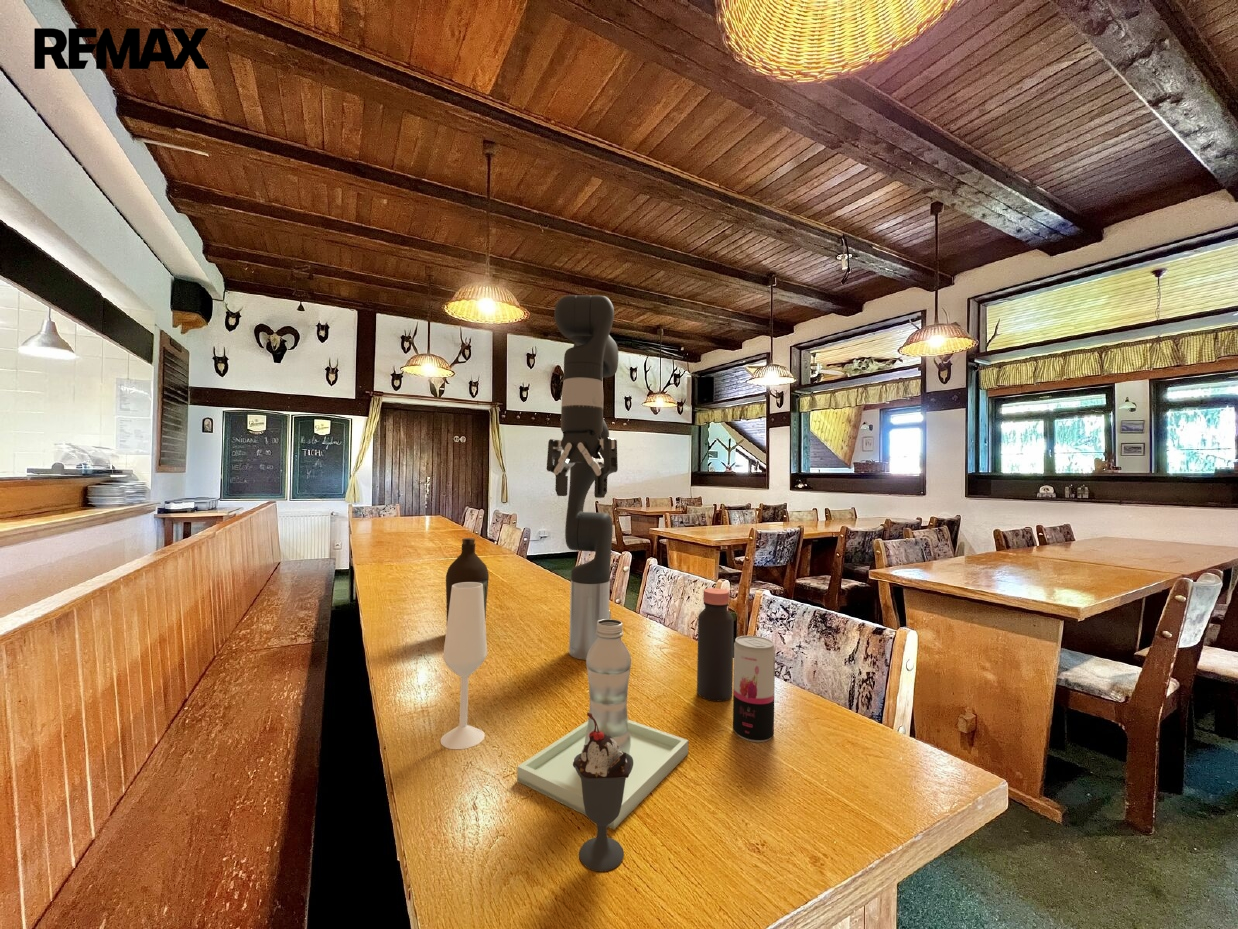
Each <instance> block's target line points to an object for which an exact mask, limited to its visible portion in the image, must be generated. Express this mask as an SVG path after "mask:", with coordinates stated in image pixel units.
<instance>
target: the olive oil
mask: <svg viewBox="0 0 1238 929" xmlns="http://www.w3.org/2000/svg"><path fill="white" fill-rule="evenodd" d="M461 540H462V541H461V542H462V543H461V553H460V554H459V556H457V557H456V559H455V560H454V561H453V562H452V563H451V564H450V565H449V567H448V569H447V571H446V575H445V593H446V594H445V596H446V598H445V599H446V600H445V601H446V607H445V608H446V622H447V621H448V613H449V605H450V597H451V590H452V585H453V584H456V583H462V582H478V583H482V584H483V595H484V611H485V620H486V618H487V600H488V590H489V588H488V587H489V571H488V567H487V565H486V563H484V561H483V560H482V559H481V558H480V557H479V556H478V555H477V554H476V543H475V542H476V539H475V538H474V537H466V538H462V539H461Z"/></svg>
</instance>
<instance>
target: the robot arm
mask: <svg viewBox="0 0 1238 929" xmlns="http://www.w3.org/2000/svg"><path fill="white" fill-rule="evenodd" d="M614 318H615V309H614V305H613V303H612V301H611V300H610V298H609V297H607V296H605V295H602V294H601V295H599V294H598V295H597V294H595V295H593V294H592V295H587V294H586V295H585V294H584V295H583V294H582V295H579V294H578V295H577V294H569V295H568V294H567V295H565V296H562V297H561V298H559V300H558V301H557V303H556V305H555V308H554V321H555V324H556V327H557V329H558V331H559V332H560V334H561V335H562V336H564V337H565V338H567V339H568V340H570V341H571V342H574V343H573V346H572V347H569V348H567V349H566V351H565V352H564V357H563V384H562V389H561V405H560V406H561V412H560V431H561V432H562V434H563V435H562V439H552V438H551V439H549V440H548V444H547V457H546V458H547V459H546V471H547V472H551V473H553V475H555V493H556V496H557V497H566V496H567V497H568V500H567V508H566V509H567V510H566V518H565V527H564V528H565V529H564V533H565V535H564V536H565V537H564V538H565V544H566V546H567V548H568V549H569V550H571V551H580V552H595V554H594V558H593V559H591V560H590V561H588V562H585V563H581V564H578V565H575V566H573V567H572V568H571V571H570V604H569V605H570V606H569V607H570V608H569V635H568V636H569V641H568V642H569V643H568V644H569V645H568V653H569V655H570V657H573V658H574V659H578V660H585V661H586V657H587V654H588V651H589V650H590V648H591V647H592V645H593V644H594V643H595V641H596V640H597V639H598V637H597V636H596V631H597V622H598V621H599V620H603V619H612V615H611V614H612V611H611V610H610V590H611V589H610V585H611V584H610V582H611V581H610V579H611V576H610V575H611V561H612V560H611V557H612V543H613V533H614V532H613V529H614V526H613V520H612V517H611V515H610V514H609V513H607V512H595V511H594V512H592V511H591V512H590V511H584V507H585V501H586V498H587V495H588V493H589V491H590V488H591V487H592V485H593V483H594V493H593V494H594V498H595V499H601V498H602V499H603V498H605V496H606V495H607V493H608V477H609V475H610V474H612V473H617V472H618V462H619V461H618V440H617V438H614V437H610V430H609V427H608V425H607V423H606V421H605V419H604V399H605V398H604V397H605V396H604V387H603V386H604V385H603V380H604V379H603V378H610V377H613V376H614V375H615V374H616V373H617V371H618V366H619V348H618V345H617V343H616V341H615V340H614V339H613V337H612V336H611V335H610V333H611V330H612V327H613V323H614ZM562 451H563V452H562ZM568 472H570V473H569V476H568V475H567V474H568ZM568 477H569V478H568ZM568 481H569V485H568ZM568 486H569V487H568Z"/></svg>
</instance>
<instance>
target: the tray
mask: <svg viewBox="0 0 1238 929" xmlns="http://www.w3.org/2000/svg"><path fill="white" fill-rule="evenodd" d="M587 728H588V720H587V721H585V722H583V723H582V724H581V725H579V726H578V727H576V728H574V729H572V730H571V731H570V732H569V733H567V734H564V735H563V736H562V737H560V738H558V739H557V740H555V741H554V742H553V743H551V744H550V745H547V747H545V748H543V749H541V750H540V751H539V752H537V753H535V754H534V755H533V756H531V757H529V758H528V759H527V760H524V761H523V762H522V763H520V764H519V765H517V769H516V771H517V772H516V773H517V774H516V775H517V776H516V781H517V782H518V783H519V784H522V785H524V786H526V787H527V788H530V789H532V790H534V791H536V792H537V793H539V794H542V795H544V796H546V797H547V798H550V799H552V800H554V801H556V802H558V803H560V804H562V805H564V806H566V807H568V808H570V809H571V810H574V811H576V812H578V813H580V814H582V815H584V816H585V817H587V815H586V813H585V808H584V803H583V794H582V783H581V778H580V776H579V775H578V773H577V771H576V769H575V768H574V767H573V762H574V758H575V757H576V756H577V755H579V754H581V753H582V750H583V748H584V745H585V737H586V732H587ZM628 728H629V733H630V739H631V749H630V756H631V757H632V758H633V768H632V770H631V773H630V774H629V777H628V778H626V780H625V787H624V794H623V801H622V805H621V809H620V813H619V816H618V817H617V818H616V819H615V820H614V821H613V822H612V823H610V824H608V825H607V828H610V829H612V830H615V829H616V828H617V827H618V826H619V825H620V824H621V823H622V822H623V821H624V820H625V819H626V818H627V817H628V816H629V815H630V814H631V813H632V812H633V811H634V810H635V809H636V808H637V807H638V806H639V805H640V804H641V803H642V802H643V800H644V799H645V798H647V796H649V794H651V792H653V791H654V789H656V787H657V786H658V785H659V784H660V783H661V782H662V781H663V780H664V779H665V778H666V777H668V775H670V773H671V772H672V771H673V770H674V769H675V768H676V767H677V766H678V764H680V763H681V762H682V761H683V760H684V759H685V758H686V757H687V756H688V755H689V739H686V738H684V737H680V736H678V735H674V734H673V733H672V734H671V733H669V732H665V731H662V730H660V729H657V728H654V727H651V726H648V725H645V724H642V723H639V722H637V721H634V720H630V719H628Z"/></svg>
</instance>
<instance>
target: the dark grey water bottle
mask: <svg viewBox="0 0 1238 929" xmlns="http://www.w3.org/2000/svg"><path fill="white" fill-rule="evenodd" d="M702 599H703V600H702V601H703V605H704V609H703V610H701V611H700V613H699V614H698V617H697V658H696V659H697V664H696V667H697V670H696V672H697V673H696V676H697V677H696V692H697V695H698V696H700V697H701V698H702V699H705V700H707V701H712V702H724V701H728V700H730V699H731V698H733V685H734V617H733V615H732V614H731V612H729V610H728V606H729V604H730V591H728V590H727V589H723V588H714V587H711V588H710V587H709V588H704V590H703V598H702Z"/></svg>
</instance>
